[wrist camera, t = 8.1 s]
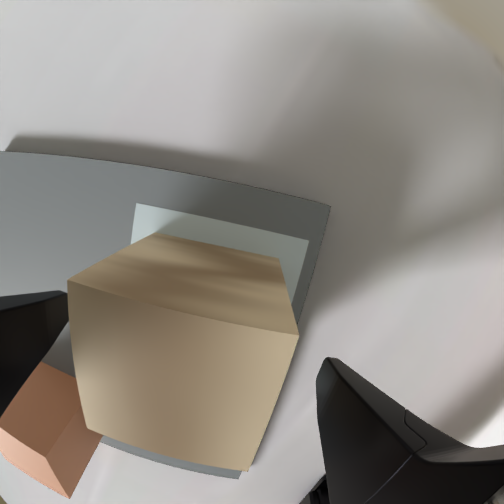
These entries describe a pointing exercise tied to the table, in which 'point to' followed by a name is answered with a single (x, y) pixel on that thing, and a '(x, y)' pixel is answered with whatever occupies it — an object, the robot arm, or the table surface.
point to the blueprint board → (138, 232)
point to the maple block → (182, 347)
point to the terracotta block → (48, 430)
